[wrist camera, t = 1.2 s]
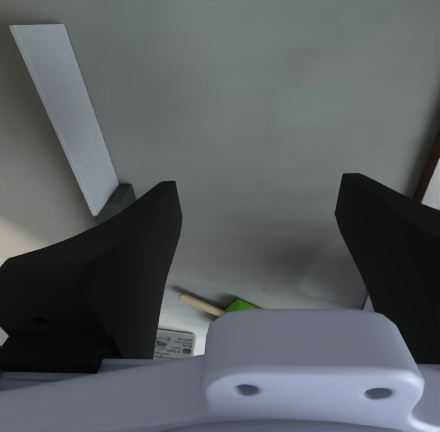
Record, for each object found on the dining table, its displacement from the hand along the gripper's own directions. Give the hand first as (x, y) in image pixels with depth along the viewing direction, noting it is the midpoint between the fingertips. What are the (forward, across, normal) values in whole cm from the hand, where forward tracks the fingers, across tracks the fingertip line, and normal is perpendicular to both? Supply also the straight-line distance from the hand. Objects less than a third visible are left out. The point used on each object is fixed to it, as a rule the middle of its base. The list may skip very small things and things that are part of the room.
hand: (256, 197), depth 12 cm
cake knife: (+9, +11, +2) cm, 15 cm away
